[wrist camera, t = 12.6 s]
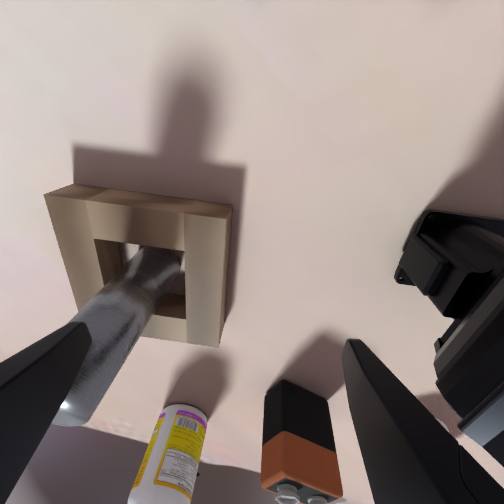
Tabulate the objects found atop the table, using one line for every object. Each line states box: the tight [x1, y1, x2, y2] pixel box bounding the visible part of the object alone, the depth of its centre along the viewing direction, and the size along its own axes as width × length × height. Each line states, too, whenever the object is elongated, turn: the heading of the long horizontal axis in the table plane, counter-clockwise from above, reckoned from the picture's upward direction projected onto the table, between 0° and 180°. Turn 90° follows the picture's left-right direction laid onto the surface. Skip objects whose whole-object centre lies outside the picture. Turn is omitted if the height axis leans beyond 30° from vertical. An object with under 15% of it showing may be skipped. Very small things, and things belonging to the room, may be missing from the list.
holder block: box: [44, 184, 233, 348], centre depth 22 cm, size 13×13×3 cm
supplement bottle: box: [128, 404, 207, 504], centre depth 30 cm, size 7×7×13 cm
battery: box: [261, 380, 343, 504], centre depth 27 cm, size 4×7×10 cm, turn 59°
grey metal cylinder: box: [51, 246, 180, 426], centre depth 18 cm, size 4×4×13 cm
